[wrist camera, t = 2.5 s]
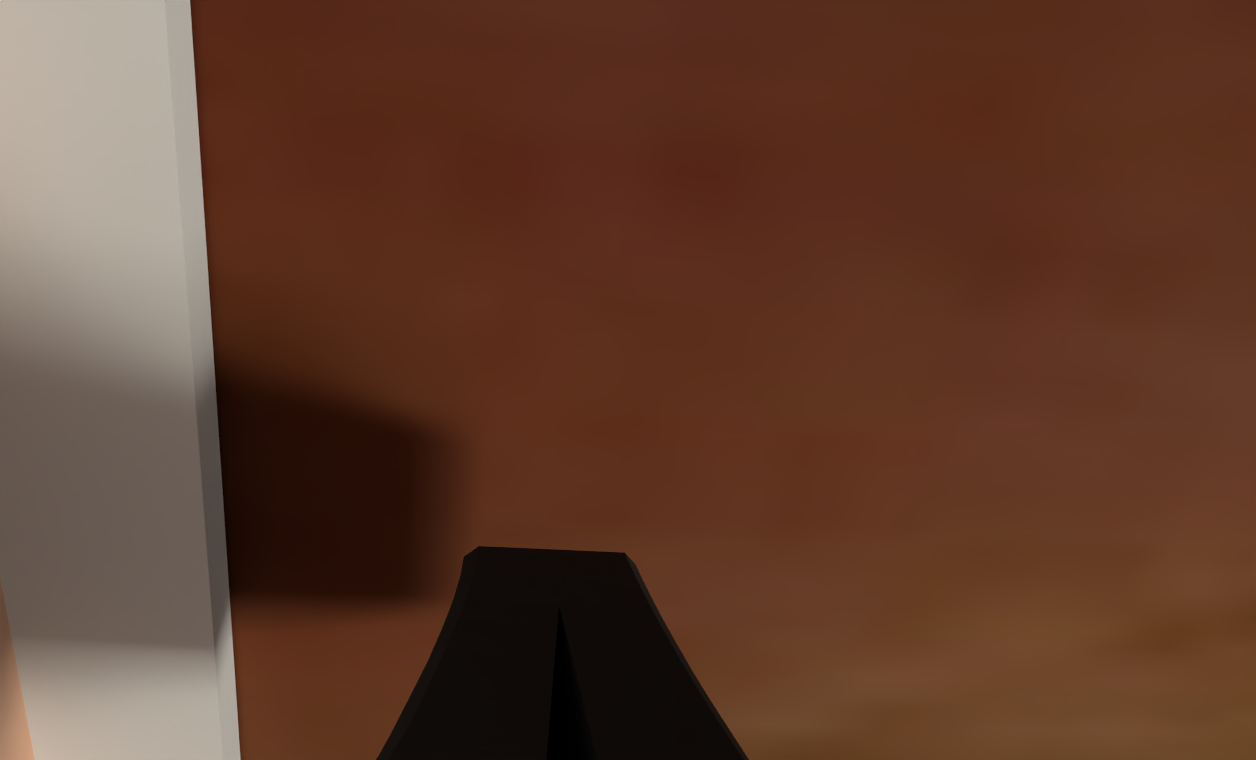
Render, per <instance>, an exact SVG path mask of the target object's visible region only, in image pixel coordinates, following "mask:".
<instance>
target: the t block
mask: <svg viewBox="0 0 1256 760" xmlns="http://www.w3.org/2000/svg"><path fill="white" fill-rule="evenodd" d="M0 760H35V758H34V753H33V748H32V743H31V737H30V732H29V727H28V722H27V716H26V711H25V706H24V701H23V695H22V690H21V685H20V680H19V675H18V669H17V664H16V659H15V654H14V648H13V643H12V638H11V633H10V628H9V622H8V617H7V612H6V607H5V601H4V596H3V591H2V586H1V580H0Z"/></svg>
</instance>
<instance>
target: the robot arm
mask: <svg viewBox="0 0 1256 760" xmlns="http://www.w3.org/2000/svg"><path fill="white" fill-rule="evenodd" d="M376 760H749V759H748V758H747V756H746V755H745V753H744V752H743V750H742V749H741V747H740V745H739V744H738V742H737V741H736V739H735V738H734V736H733V735H732V733H731V732H730V730H729V728H728V727H727V725H726V724H725V722H724V721H723V719H722V718H721V716H720V715H719V713H718V711H717V710H716V708H715V707H714V705H713V704H712V702H711V701H710V699H709V698H708V696H707V694H706V693H705V691H704V689H703V688H702V686H701V684H700V683H699V681H698V680H697V678H696V676H695V675H694V673H693V671H692V670H691V668H690V666H689V665H688V663H687V661H686V659H685V658H684V656H683V654H682V652H681V651H680V649H679V647H678V645H677V644H676V642H675V640H674V638H673V637H672V635H671V633H670V631H669V630H668V628H667V626H666V624H665V622H664V620H663V619H662V617H661V615H660V613H659V611H658V609H657V607H656V605H655V603H654V602H653V600H652V598H651V596H650V594H649V592H648V590H647V588H646V586H645V584H644V582H643V580H642V578H641V576H640V573H639V571H638V569H637V567H636V565H635V564H634V563H633V561H632V560H631V559H630V558H629V557H628V556H627V555H626V554H625V553H619V552H596V551H574V550H551V549H529V548H506V547H483V546H478V547H477V548H476V549H474V550H473V551H472V552H470V553H469V554H467V555H466V556H465V557H464V560H463V565H462V571H461V576H460V580H459V583H458V586H457V589H456V593H455V596H454V599H453V602H452V605H451V607H450V610H449V613H448V615H447V618H446V620H445V623H444V625H443V628H442V630H441V632H440V635H439V637H438V639H437V642H436V644H435V646H434V648H433V651H432V653H431V655H430V658H429V660H428V662H427V664H426V666H425V668H424V670H423V672H422V674H421V676H420V678H419V680H418V682H417V684H416V686H415V688H414V690H413V692H412V694H411V696H410V698H409V700H408V702H407V704H406V705H405V707H404V709H403V711H402V713H401V715H400V717H399V719H398V721H397V723H396V725H395V727H394V729H393V731H392V733H391V735H390V736H389V738H388V740H387V742H386V744H385V745H384V747H383V749H382V751H381V752H380V754H379V756H378V758H377V759H376Z"/></svg>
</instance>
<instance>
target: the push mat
mask: <svg viewBox="0 0 1256 760" xmlns="http://www.w3.org/2000/svg"><path fill="white" fill-rule="evenodd" d="M0 580H1V586H2V591H3V596H4V601H5V607H6V612H7V617H8V622H9V628H10V633H11V638H12V643H13V648H14V654H15V659H16V664H17V669H18V675H19V680H20V685H21V690H22V695H23V701H24V706H25V711H26V716H27V722H28V727H29V732H30V737H31V743H32V748H33V753H34V758H35V760H240V745H239V730H238V715H237V700H236V685H235V670H234V655H233V640H232V625H231V610H230V595H229V580H228V565H227V550H226V535H225V520H224V505H223V490H222V475H221V460H220V445H219V430H218V415H217V400H216V385H215V370H214V355H213V340H212V325H211V310H210V295H209V280H208V265H207V250H206V235H205V220H204V205H203V189H202V174H201V159H200V144H199V129H198V114H197V99H196V84H195V69H194V54H193V39H192V24H191V9H190V0H0Z"/></svg>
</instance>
